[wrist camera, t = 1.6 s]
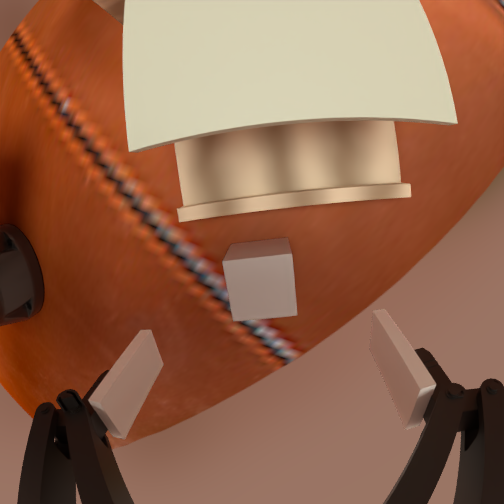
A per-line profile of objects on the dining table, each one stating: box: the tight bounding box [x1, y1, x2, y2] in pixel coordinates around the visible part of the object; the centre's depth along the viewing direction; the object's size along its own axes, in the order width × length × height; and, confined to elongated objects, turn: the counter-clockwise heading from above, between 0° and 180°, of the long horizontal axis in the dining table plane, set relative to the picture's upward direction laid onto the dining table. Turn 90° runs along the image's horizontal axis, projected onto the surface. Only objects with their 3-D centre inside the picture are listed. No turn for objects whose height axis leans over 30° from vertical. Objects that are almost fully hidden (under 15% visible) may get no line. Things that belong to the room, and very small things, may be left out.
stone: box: [222, 237, 297, 321], centre depth 25 cm, size 6×6×6 cm
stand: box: [93, 0, 411, 222], centre depth 15 cm, size 23×28×14 cm
